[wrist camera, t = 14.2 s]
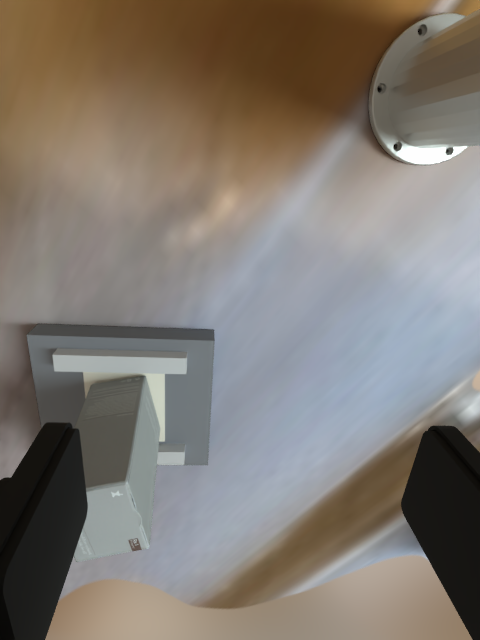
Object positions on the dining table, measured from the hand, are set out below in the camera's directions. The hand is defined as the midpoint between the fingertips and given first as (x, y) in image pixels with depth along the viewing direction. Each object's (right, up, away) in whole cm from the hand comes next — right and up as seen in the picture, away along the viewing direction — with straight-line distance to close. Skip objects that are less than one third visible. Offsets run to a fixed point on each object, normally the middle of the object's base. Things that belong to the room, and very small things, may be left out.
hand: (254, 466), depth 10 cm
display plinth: (-14, -5, +37) cm, 40 cm away
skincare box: (-13, -6, +34) cm, 37 cm away
